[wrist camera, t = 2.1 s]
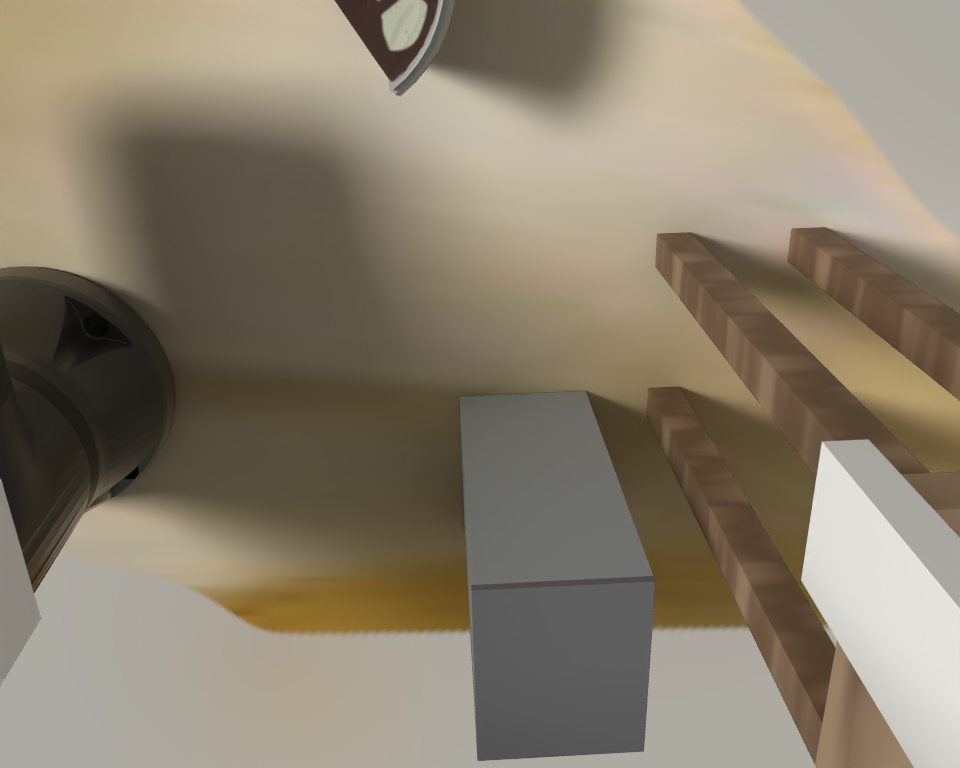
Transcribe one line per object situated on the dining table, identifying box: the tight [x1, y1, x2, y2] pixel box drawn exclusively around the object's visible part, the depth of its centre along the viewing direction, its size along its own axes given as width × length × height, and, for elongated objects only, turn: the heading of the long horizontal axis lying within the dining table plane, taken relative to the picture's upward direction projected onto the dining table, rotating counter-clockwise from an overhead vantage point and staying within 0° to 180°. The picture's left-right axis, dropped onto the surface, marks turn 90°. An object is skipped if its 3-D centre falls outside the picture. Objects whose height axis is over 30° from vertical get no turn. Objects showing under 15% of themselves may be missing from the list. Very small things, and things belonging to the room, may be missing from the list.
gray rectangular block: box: [459, 391, 655, 761], centre depth 50 cm, size 8×10×20 cm
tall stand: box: [647, 227, 960, 768], centre depth 42 cm, size 10×12×30 cm
